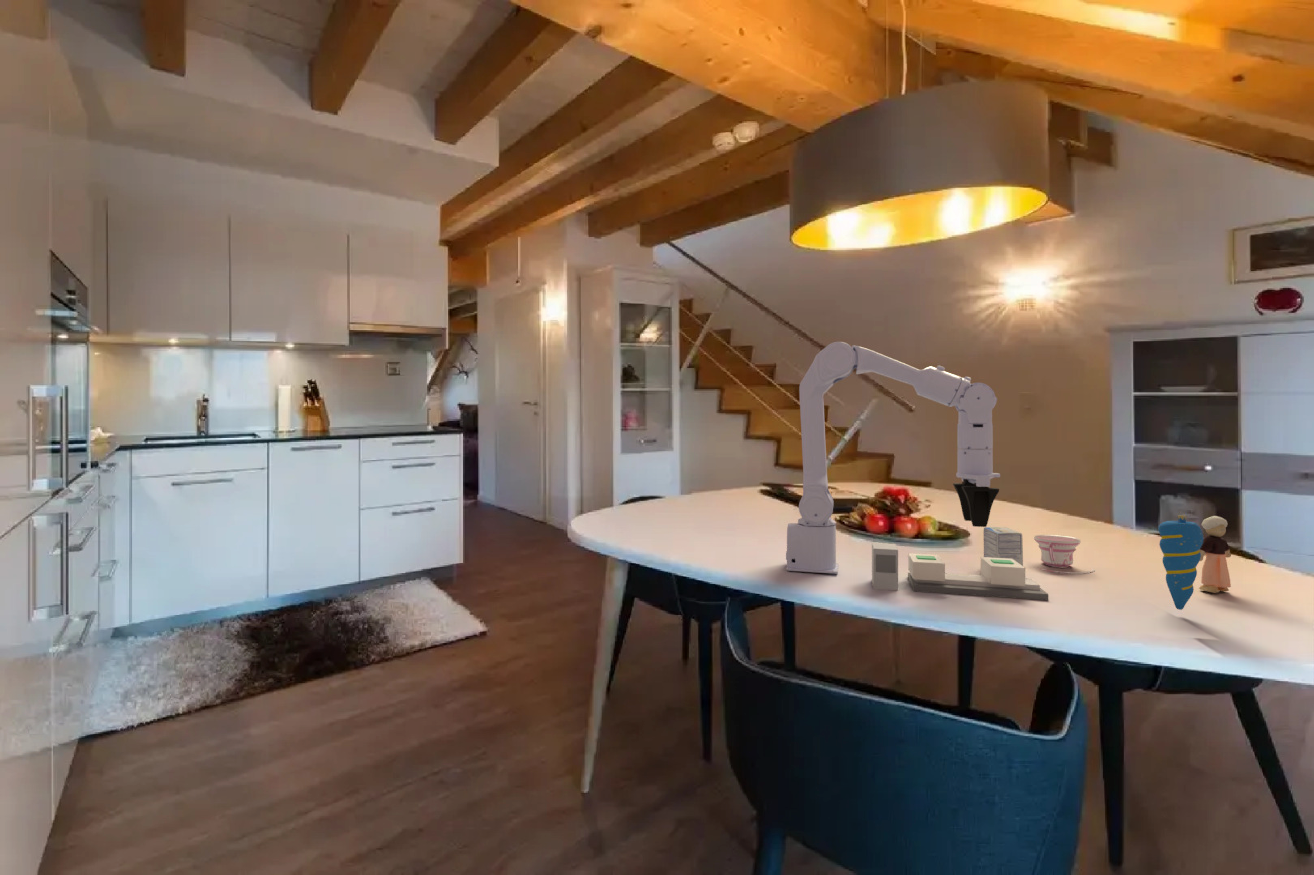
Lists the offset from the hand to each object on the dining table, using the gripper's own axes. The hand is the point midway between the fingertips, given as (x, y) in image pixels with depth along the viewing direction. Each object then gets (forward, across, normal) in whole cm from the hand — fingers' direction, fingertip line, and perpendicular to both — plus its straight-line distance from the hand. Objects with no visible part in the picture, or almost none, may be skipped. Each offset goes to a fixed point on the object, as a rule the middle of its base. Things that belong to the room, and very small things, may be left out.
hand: (975, 523), depth 109 cm
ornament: (+11, -11, -26) cm, 30 cm away
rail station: (+10, -6, +3) cm, 12 cm away
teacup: (+11, +17, -18) cm, 27 cm away
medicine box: (+11, +7, -6) cm, 14 cm away
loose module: (+11, -8, +16) cm, 21 cm away
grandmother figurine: (+11, +5, -38) cm, 40 cm away
